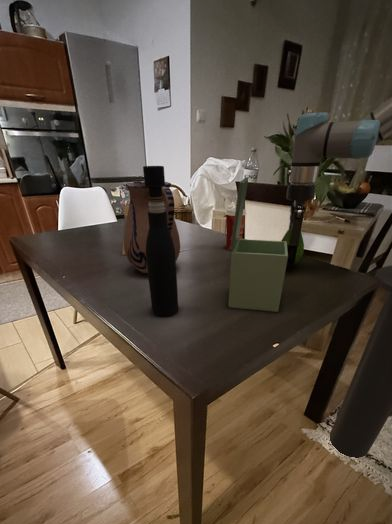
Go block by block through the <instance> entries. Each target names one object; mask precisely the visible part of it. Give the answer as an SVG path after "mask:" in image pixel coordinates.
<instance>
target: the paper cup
mask: <svg viewBox="0 0 392 524" xmlns="http://www.w3.org/2000/svg"><path fill="white" fill-rule="evenodd" d="M235 212H236V207H233V208H227V209H226V212H225V221H226V223H225V224H226V225H225V227H226V228H225V233H226V235H225V237H226V239H225V240H226V250H227V251H231V252H232V251H233V250H230V246H231V239H232V233H233V226H234V219H235ZM246 215H247V212H246V209H244V210H243V216H242V222H241V229H240V235H239V239H243V235H244V227H245V220H246Z"/></svg>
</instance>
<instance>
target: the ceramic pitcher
mask: <svg viewBox="0 0 392 524" xmlns="http://www.w3.org/2000/svg"><path fill="white" fill-rule="evenodd" d="M171 186H172V183H171V182H168V181H165V186H164V187H162V196H163V198H162V199H158V200H152V199H150V198H149V187H145V182H143V181H140V180H139V181H133V182H126V183H125V187H126V189H127V191H128V193H129V204H128V205H129V209H128V215H127V221H126V227H125V234H124V233H123V236H124V250H125V253H126V255H125V257H126V258H127V260H128V262H129V263H130V264H131V266H133V267H134V268H135V269H136V270H137V271H139V272H140V273H143V274H148V268H147V260H146V240H147V235H148V230H149V219H148V212H149V211H150V210H149V206H148V204H149V201H164V204H165V205H164V207H165V211H166V212H167V226H168V229H169V231H170V234H171V237H172V240H173V244H174V248H175V256H176V261H177V260H178V258H179V256H180V252H181V240H180V234H179V230H178V226H177V223H176V220H175V206H176V205H175V198H174V194H173V191H172V190H171V188H170V187H171Z"/></svg>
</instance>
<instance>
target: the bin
mask: <svg viewBox="0 0 392 524" xmlns="http://www.w3.org/2000/svg"><path fill="white" fill-rule="evenodd" d="M230 257H231V258H230V270H229V271H230V272H229V274H230V275H229V288H228V290H229V291H228V306H227V307H228V308H234V309H241V310H242V309H245V310H253V311H265V312H276V313H279V309H280V303H281V299H282V292H283V286H284V281H285V277H286V276H285V275H286V270H287V268H286V265H287V259H288V250H287V242H286V241H281V240H266V239H265V240H264V239H245V238H244V239H243V238H242V239H238V241H237V243H236V246H235V248H234V250H233V251H232V250H231V255H230Z"/></svg>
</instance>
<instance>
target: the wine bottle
mask: <svg viewBox="0 0 392 524" xmlns="http://www.w3.org/2000/svg"><path fill="white" fill-rule="evenodd" d="M142 172H143V181H144V182H143V183H145V187H149V198H150V199H152V200H158V199H162V198H163V196H162V187H164V186H165V182H166V179H165V177H166V176H165V166H164V165H144V166H142ZM164 205H165V204H164V201H149V204H148V206H149V210H150V211H149V212H148V219H149V230H148V235H147V240H146V260H147V268H148V273H147V277H148V286H149V295H150V303H151V304H150V305H151V312H152V314H153V315H155V316H156V317H161V318H167V317H173V316H174V315H176V314H177V313H178V312H179V297H178V277H177V260H176V256H175V248H174V244H173V240H172V237H171V234H170V231H169V229H168V226H167V212H166V211H165V207H164Z"/></svg>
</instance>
